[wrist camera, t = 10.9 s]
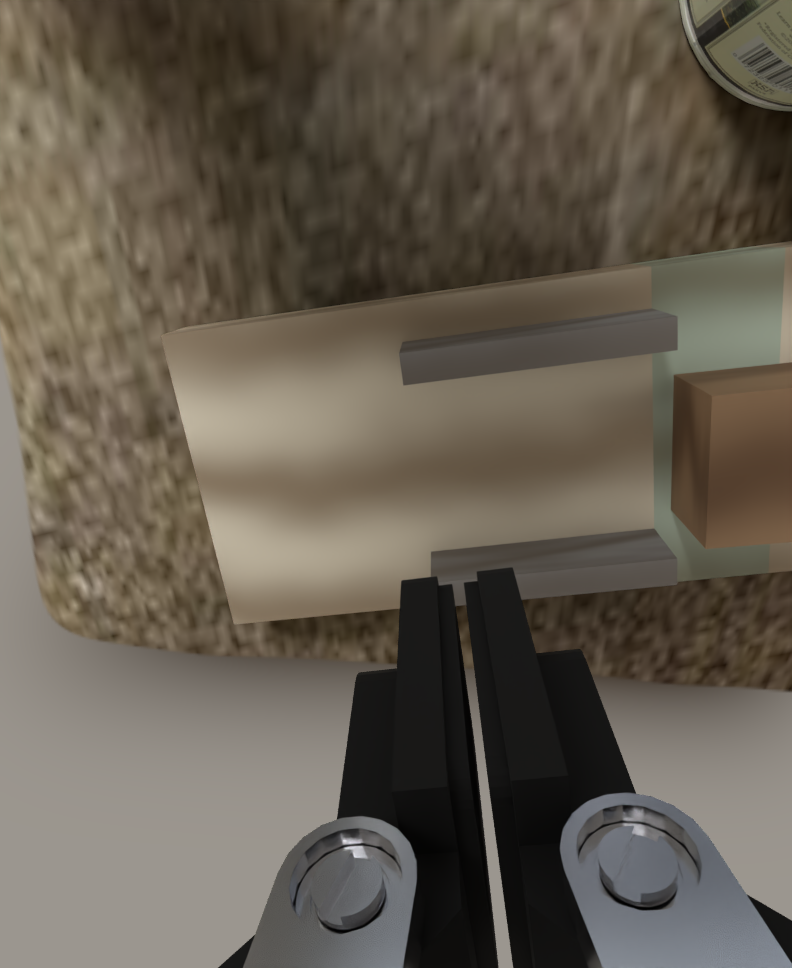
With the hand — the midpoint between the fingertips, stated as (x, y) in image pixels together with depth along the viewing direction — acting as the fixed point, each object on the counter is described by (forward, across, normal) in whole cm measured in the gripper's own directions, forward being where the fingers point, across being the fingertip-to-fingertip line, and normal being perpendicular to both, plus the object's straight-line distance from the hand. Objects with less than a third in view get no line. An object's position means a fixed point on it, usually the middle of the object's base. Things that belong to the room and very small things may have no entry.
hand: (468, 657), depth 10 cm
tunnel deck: (+22, -7, +4) cm, 23 cm away
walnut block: (+19, -12, +4) cm, 23 cm away
